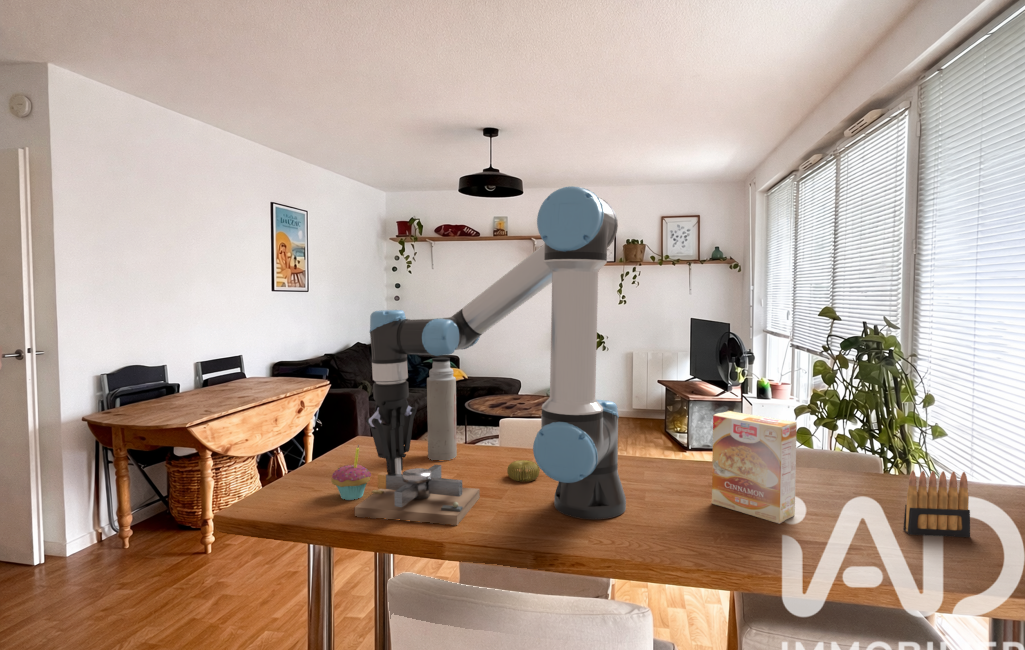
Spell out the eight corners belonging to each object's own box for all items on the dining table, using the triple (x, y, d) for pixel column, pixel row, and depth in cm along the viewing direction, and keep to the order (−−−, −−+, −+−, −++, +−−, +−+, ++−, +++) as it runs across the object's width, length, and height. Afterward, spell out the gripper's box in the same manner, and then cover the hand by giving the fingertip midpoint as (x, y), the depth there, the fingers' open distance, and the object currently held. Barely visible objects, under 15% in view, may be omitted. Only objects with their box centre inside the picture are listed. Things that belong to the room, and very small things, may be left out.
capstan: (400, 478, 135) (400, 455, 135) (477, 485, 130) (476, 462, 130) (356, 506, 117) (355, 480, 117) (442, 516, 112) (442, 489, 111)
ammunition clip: (908, 534, 108) (910, 471, 108) (903, 530, 110) (904, 468, 109) (970, 537, 107) (972, 473, 106) (964, 533, 109) (966, 470, 108)
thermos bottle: (458, 453, 165) (457, 356, 164) (454, 461, 157) (453, 359, 156) (430, 453, 166) (429, 356, 164) (425, 461, 158) (424, 359, 156)
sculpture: (517, 456, 148) (545, 461, 144) (517, 471, 148) (545, 476, 144) (501, 464, 141) (529, 469, 137) (501, 480, 141) (529, 486, 137)
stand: (479, 497, 129) (479, 481, 129) (457, 525, 114) (456, 507, 113) (386, 490, 134) (386, 475, 134) (352, 516, 118) (352, 499, 118)
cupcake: (377, 492, 133) (376, 440, 132) (358, 505, 125) (357, 450, 124) (344, 488, 135) (343, 438, 135) (323, 501, 127) (322, 447, 127)
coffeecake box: (710, 503, 125) (711, 414, 124) (727, 496, 129) (729, 410, 128) (779, 524, 113) (781, 426, 112) (796, 515, 118) (797, 421, 117)
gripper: (399, 375, 133) (404, 475, 135) (355, 384, 123) (361, 492, 124) (423, 377, 129) (428, 481, 130) (380, 387, 118) (385, 499, 120)
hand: (395, 486), depth 127 cm, fingers closed
